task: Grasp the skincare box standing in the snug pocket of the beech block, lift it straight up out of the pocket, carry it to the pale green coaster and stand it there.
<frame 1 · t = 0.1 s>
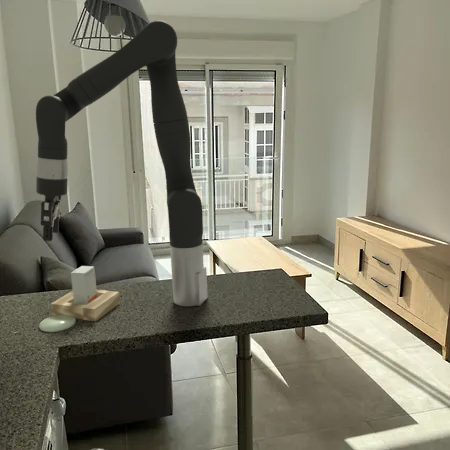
hand: (51, 236, 117), 22 cm above the counter, tool pointing down, fingers open, 8 cm apart
skincare box: (87, 309, 125), resting in pocket block
pocket block: (87, 309, 125), on the counter
coaster: (57, 323, 116), on the counter
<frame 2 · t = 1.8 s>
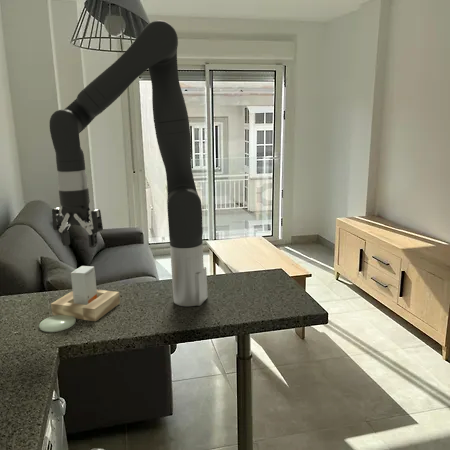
hand: (79, 246, 120), 19 cm above the counter, tool pointing down, fingers open, 8 cm apart
nothing on the counter moved.
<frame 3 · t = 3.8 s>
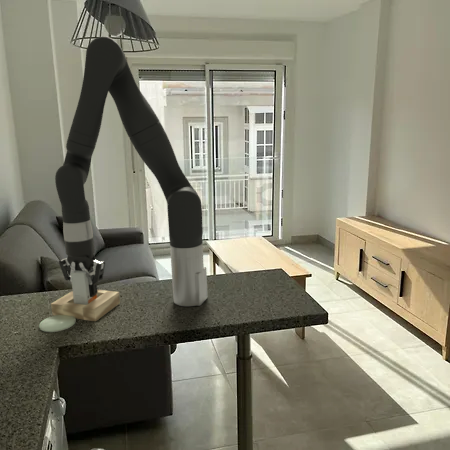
hand: (85, 294, 124), 4 cm above the counter, tool pointing down, fingers closed on skincare box, 4 cm apart
skincare box: (87, 309, 125), resting in pocket block, touching gripper
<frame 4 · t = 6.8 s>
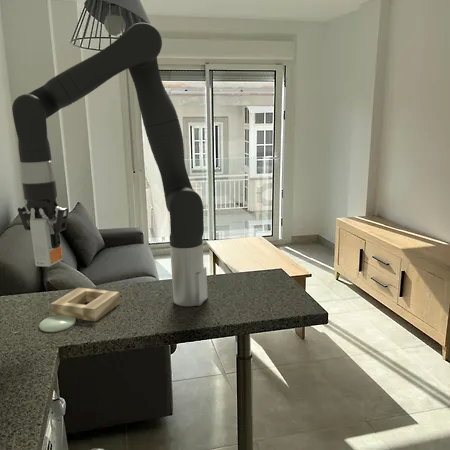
hand: (47, 246, 111), 21 cm above the counter, tool pointing down, fingers closed on skincare box, 4 cm apart
skincare box: (49, 263, 112), point 17 cm above the counter, touching gripper
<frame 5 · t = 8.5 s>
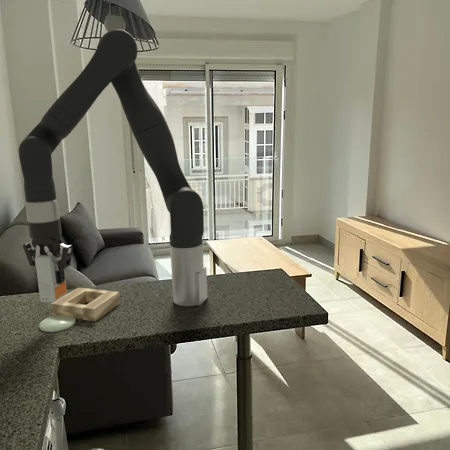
hand: (52, 282, 113), 12 cm above the counter, tool pointing down, fingers closed on skincare box, 4 cm apart
skincare box: (54, 298, 114), point 7 cm above the counter, touching gripper
when the fingers open (6 cm above the counter, at t = 10.1 s): skincare box stays where it is, resting on coaster.
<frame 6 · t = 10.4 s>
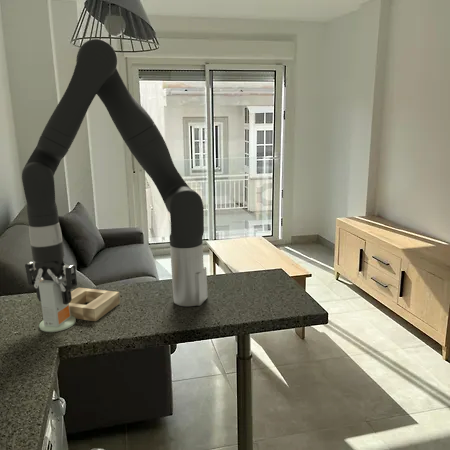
hand: (54, 301, 115), 6 cm above the counter, tool pointing down, fingers open, 7 cm apart
skincare box: (58, 322, 116), resting on coaster
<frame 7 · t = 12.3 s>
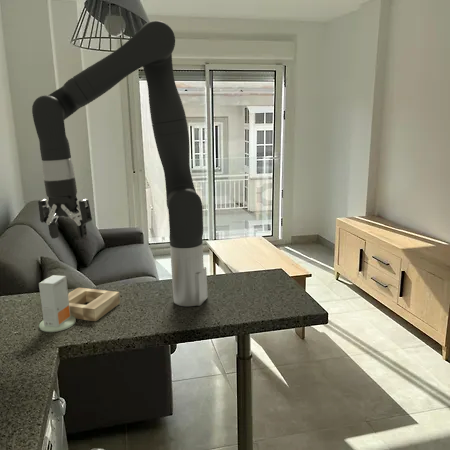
hand: (68, 238, 116), 22 cm above the counter, tool pointing down, fingers open, 8 cm apart
nothing on the counter moved.
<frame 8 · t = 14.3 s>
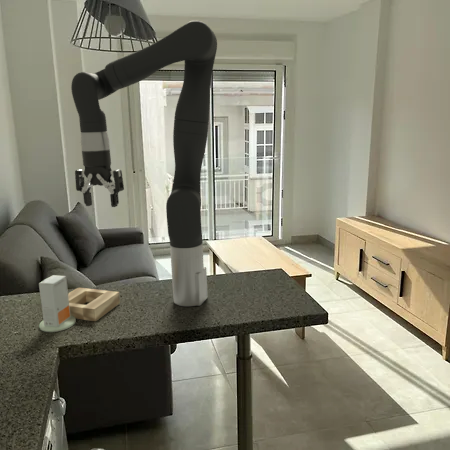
hand: (101, 206, 125), 28 cm above the counter, tool pointing down, fingers open, 8 cm apart
nothing on the counter moved.
at the end: skincare box inside the target area on the coaster (0.1 cm from its centre), point 0.4 cm above the coaster's base; skincare box tilted 0°; the gripper is holding nothing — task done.
